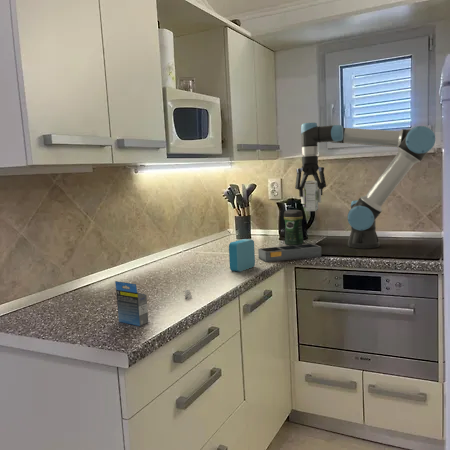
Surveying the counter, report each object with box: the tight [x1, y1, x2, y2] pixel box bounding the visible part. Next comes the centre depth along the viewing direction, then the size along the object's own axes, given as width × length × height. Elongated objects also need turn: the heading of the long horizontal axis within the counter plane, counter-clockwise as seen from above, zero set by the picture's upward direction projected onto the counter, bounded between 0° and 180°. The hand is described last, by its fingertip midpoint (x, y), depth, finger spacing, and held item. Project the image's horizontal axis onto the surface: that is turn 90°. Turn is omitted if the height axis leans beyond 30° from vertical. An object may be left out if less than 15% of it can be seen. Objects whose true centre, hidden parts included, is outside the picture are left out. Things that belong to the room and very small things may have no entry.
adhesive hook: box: [182, 289, 193, 300], centre depth 154 cm, size 3×3×3 cm
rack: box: [257, 243, 322, 263], centre depth 211 cm, size 27×10×4 cm, turn 105°
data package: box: [228, 238, 256, 273], centre depth 192 cm, size 12×4×12 cm, turn 140°
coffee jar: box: [283, 209, 305, 246], centre depth 243 cm, size 10×8×19 cm
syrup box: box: [303, 180, 319, 212], centre depth 223 cm, size 6×6×14 cm
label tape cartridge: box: [114, 280, 149, 327], centre depth 132 cm, size 9×4×12 cm, turn 56°
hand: (311, 202), depth 223 cm, fingers closed on syrup box, 8 cm apart
